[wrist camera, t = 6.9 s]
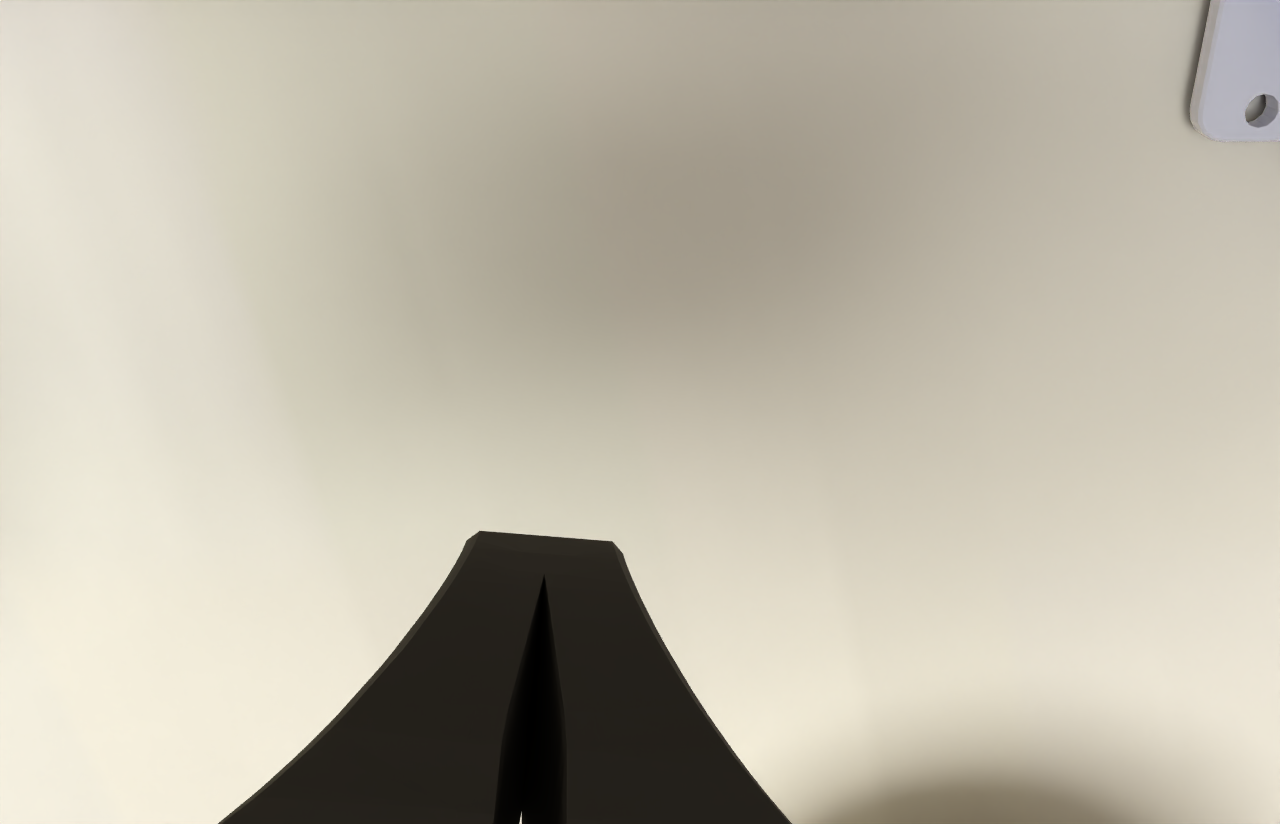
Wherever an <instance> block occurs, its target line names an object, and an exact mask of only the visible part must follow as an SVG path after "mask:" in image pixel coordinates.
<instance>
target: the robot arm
mask: <svg viewBox="0 0 1280 824" xmlns="http://www.w3.org/2000/svg"><path fill="white" fill-rule="evenodd" d="M1263 94H1264V95H1265V97H1266V107H1265V109H1264V111H1263V113H1262V114H1261V115H1260V116H1259V117H1258V118H1257V119H1256V120H1253V121H1250V122H1247V121H1246V119H1245V110H1246V108H1247V106H1248V104H1249V102H1250V101H1252V100H1253V99H1254V98H1255V97H1256V96H1259V95H1263ZM1190 120H1191V122H1192V124H1193V126H1194V129H1195V130H1197V131H1198V132H1199V133H1201V134H1202V135H1203V136H1205V137H1207V138H1209V139H1211V140H1215V141H1220V142H1266V141H1280V0H1211V2H1210V7H1209V12H1208V17H1207V23H1206V28H1205V33H1204V38H1203V43H1202V48H1201V53H1200V58H1199V63H1198V69H1197V74H1196V79H1195V84H1194V89H1193V94H1192V99H1191V104H1190ZM521 811H522V824H792V823H791V822H790V821H789V820H788V819H787V818H786V816H785V815H784V814H783V813H782V812H781V810H780V809H779V808H778V807H777V806H776V805H775V803H774V802H773V801H772V800H771V799H770V797H769V796H768V795H767V794H766V793H765V791H764V790H763V789H762V788H761V786H760V785H759V784H758V783H757V781H756V780H755V779H754V778H753V776H752V775H751V774H750V773H749V771H748V770H747V769H746V767H745V766H744V765H743V763H742V762H741V761H740V759H739V758H738V757H737V755H736V754H735V753H734V751H733V750H732V748H731V747H730V746H729V744H728V743H727V741H726V740H725V738H724V737H723V736H722V734H721V733H720V731H719V730H718V728H717V727H716V726H715V724H714V723H713V721H712V720H711V718H710V717H709V716H708V714H707V713H706V711H705V709H704V708H703V706H702V705H701V703H700V702H699V700H698V699H697V697H696V696H695V694H694V693H693V691H692V689H691V688H690V686H689V684H688V683H687V681H686V679H685V678H684V676H683V674H682V673H681V671H680V669H679V668H678V666H677V664H676V662H675V661H674V659H673V657H672V656H671V654H670V652H669V651H668V649H667V647H666V646H665V644H664V642H663V640H662V638H661V636H660V635H659V633H658V631H657V629H656V627H655V625H654V623H653V621H652V619H651V617H650V615H649V613H648V612H647V610H646V608H645V606H644V604H643V602H642V599H641V597H640V595H639V593H638V591H637V589H636V586H635V584H634V582H633V580H632V577H631V575H630V572H629V570H628V567H627V565H626V562H625V559H624V556H623V553H622V552H621V551H620V550H619V549H618V547H617V546H616V545H615V544H614V543H613V542H612V541H599V540H587V539H575V538H562V537H550V536H537V535H525V534H513V533H500V532H488V531H479V532H478V533H476V534H475V535H474V536H472V537H471V538H470V539H468V540H467V541H466V543H465V546H464V548H463V550H462V552H461V554H460V556H459V558H458V560H457V561H456V563H455V565H454V567H453V568H452V570H451V572H450V573H449V575H448V577H447V578H446V580H445V581H444V583H443V585H442V586H441V587H440V589H439V590H438V592H437V593H436V595H435V596H434V598H433V599H432V601H431V602H430V604H429V605H428V607H427V608H426V609H425V611H424V612H423V613H422V615H421V616H420V617H419V619H418V620H417V621H416V623H415V624H414V625H413V626H412V628H411V629H410V630H409V632H408V633H407V634H406V636H405V637H404V638H403V639H402V641H401V642H400V643H399V645H398V646H397V647H396V649H395V650H394V651H393V652H392V654H391V655H390V656H389V657H388V659H387V660H386V661H385V662H384V663H383V665H382V666H381V667H380V668H379V669H378V670H377V671H376V673H375V674H374V675H373V676H372V677H371V678H370V679H369V680H368V682H367V683H366V684H365V685H364V686H363V687H362V688H361V689H360V690H359V692H358V693H357V694H356V695H355V696H354V697H353V698H352V699H351V700H350V702H349V703H348V704H347V705H346V706H345V707H344V708H343V709H342V711H341V712H340V713H339V714H338V715H337V716H336V717H335V718H334V719H333V720H332V721H331V722H330V723H329V724H328V725H327V726H326V727H325V728H324V729H323V730H322V731H321V732H320V733H319V734H318V735H317V736H316V737H315V738H314V739H313V740H312V741H311V742H310V743H309V744H308V745H307V746H306V747H305V748H304V749H303V750H302V751H301V752H300V753H299V754H298V755H297V756H296V757H295V758H294V759H293V760H292V761H290V762H289V763H288V764H287V765H286V766H285V767H284V768H283V769H282V770H281V771H279V772H278V773H277V774H276V775H275V776H274V777H273V778H272V779H271V780H270V781H268V782H267V783H266V784H265V785H264V786H263V787H262V788H261V789H259V790H258V791H257V792H256V793H255V794H254V795H252V796H251V797H250V798H249V799H248V800H246V801H245V802H244V803H243V804H241V805H240V806H239V807H238V808H237V809H235V810H234V811H233V812H232V813H230V814H229V815H228V816H227V817H225V818H224V819H223V820H222V821H221V822H219V823H218V824H519V822H520V817H521Z"/></svg>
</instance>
